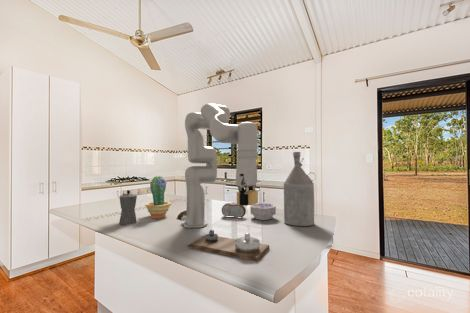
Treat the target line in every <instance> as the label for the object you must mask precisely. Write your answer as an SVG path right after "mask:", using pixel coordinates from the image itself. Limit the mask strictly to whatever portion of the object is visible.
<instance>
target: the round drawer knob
mask: <svg viewBox="0 0 470 313" xmlns="http://www.w3.org/2000/svg"><path fill="white" fill-rule="evenodd" d="M205 235H206V241H207V242H216V241H218V234H217V233H215V230H214V229H210V230H209V231H208V233H207V234H205Z"/></svg>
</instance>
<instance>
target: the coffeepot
mask: <svg viewBox="0 0 470 313" xmlns="http://www.w3.org/2000/svg"><path fill="white" fill-rule="evenodd" d="M137 198H138V195H137V194H135V193H134V194H133V193H131V190H129V189H128V190H126V193H122V194H121V195H119V204H120V209H121V213H120V217H119V222H118V223H119V225H121V226H131V225H134V224H137V222H138V221H137V215H136V205H137Z"/></svg>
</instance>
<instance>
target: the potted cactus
mask: <svg viewBox="0 0 470 313" xmlns="http://www.w3.org/2000/svg"><path fill="white" fill-rule="evenodd" d="M167 183H168V182H167V180H166V179H164V177H163V175H162V176H161V175H159V176H158V175H156V176H153V178H152V179H151V181H150V184H149V185H150V187H149V188H150V191H151V192H150V193H151V195H152V202H147V203H145V205H144V206H145V208H146V209H147V212H148V213H149V214H150V218H152V219H161V218H165V217H166V216H167V215H166V214H167V212H168V211H169V208H170V206H171V205H172V203H171V201H165V192H166V189H167Z"/></svg>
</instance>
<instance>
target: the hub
mask: <svg viewBox="0 0 470 313" xmlns="http://www.w3.org/2000/svg"><path fill="white" fill-rule="evenodd" d="M235 239H236V240H235V250H236V251H238V252H240V253H246V254H250V253H256V252H258V251H259V243H260V240H259V238H257V237H254V236H253V237H252V236H251V235H250V233H249V232H246V233H245V234H244V236H242V237H241V236H240V237H238V238H235Z"/></svg>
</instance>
